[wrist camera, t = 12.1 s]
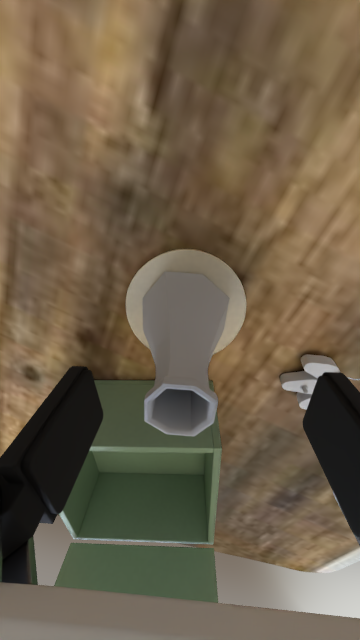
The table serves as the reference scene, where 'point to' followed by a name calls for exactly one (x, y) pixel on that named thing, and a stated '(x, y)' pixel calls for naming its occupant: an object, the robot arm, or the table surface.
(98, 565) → the box lid
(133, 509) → the box
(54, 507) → the robot arm
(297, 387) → the game controller
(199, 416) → the flask
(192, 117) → the table surface
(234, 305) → the coaster
